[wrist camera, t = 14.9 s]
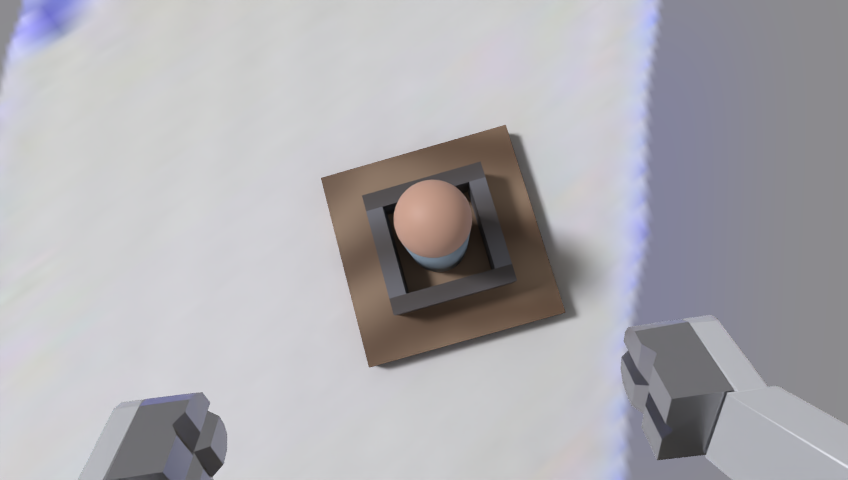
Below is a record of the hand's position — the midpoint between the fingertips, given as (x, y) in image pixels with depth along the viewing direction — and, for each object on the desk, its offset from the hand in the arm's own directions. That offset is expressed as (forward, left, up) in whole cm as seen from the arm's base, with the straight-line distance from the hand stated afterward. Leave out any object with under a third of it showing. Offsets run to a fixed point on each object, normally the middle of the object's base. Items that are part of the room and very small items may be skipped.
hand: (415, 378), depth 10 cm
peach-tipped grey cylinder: (+6, -1, -28) cm, 29 cm away
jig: (+6, -1, -29) cm, 30 cm away
